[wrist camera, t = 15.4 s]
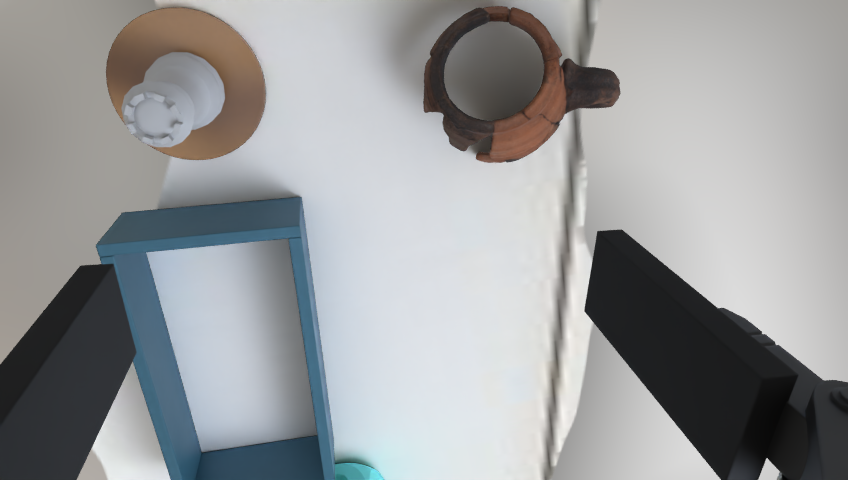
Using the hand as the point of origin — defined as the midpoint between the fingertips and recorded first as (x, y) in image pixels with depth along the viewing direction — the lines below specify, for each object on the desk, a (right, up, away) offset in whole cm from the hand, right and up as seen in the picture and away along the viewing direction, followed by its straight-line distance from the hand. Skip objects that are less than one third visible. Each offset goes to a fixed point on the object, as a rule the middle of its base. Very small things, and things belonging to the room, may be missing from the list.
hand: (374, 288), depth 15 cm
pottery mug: (+7, +12, +22) cm, 26 cm away
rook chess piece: (-13, +11, +18) cm, 25 cm away
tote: (-12, -6, +26) cm, 30 cm away
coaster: (-13, +11, +18) cm, 25 cm away
